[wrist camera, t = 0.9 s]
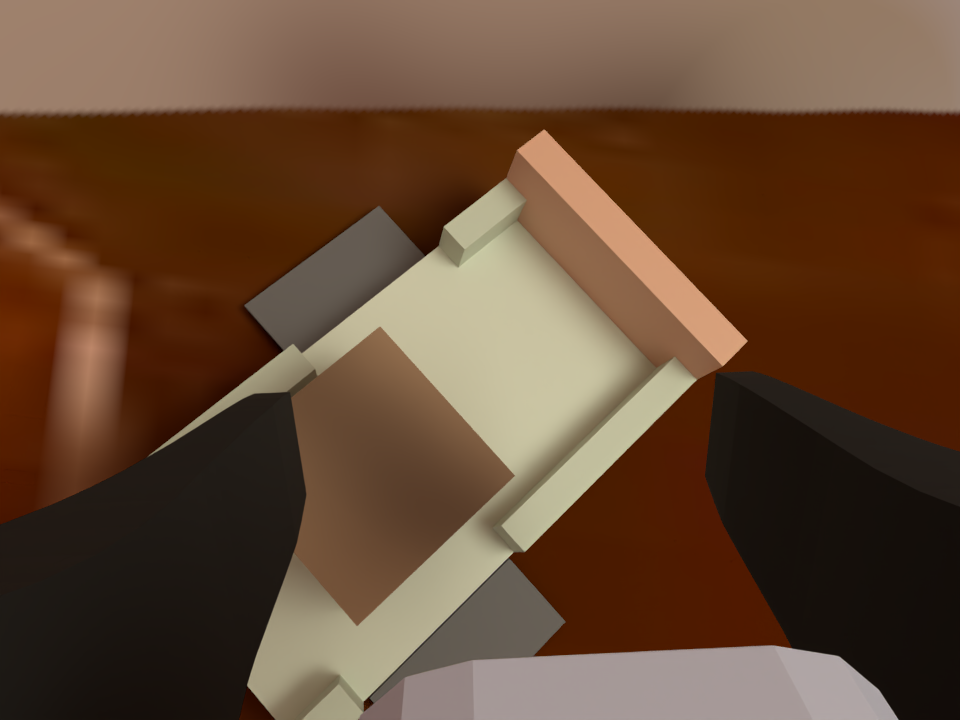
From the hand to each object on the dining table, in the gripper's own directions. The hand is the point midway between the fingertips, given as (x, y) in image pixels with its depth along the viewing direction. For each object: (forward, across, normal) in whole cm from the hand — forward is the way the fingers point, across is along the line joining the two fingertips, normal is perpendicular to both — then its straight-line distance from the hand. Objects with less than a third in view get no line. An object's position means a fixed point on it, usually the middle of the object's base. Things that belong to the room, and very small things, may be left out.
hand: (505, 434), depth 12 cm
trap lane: (+11, +2, +6) cm, 12 cm away
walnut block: (+8, +4, +6) cm, 11 cm away
